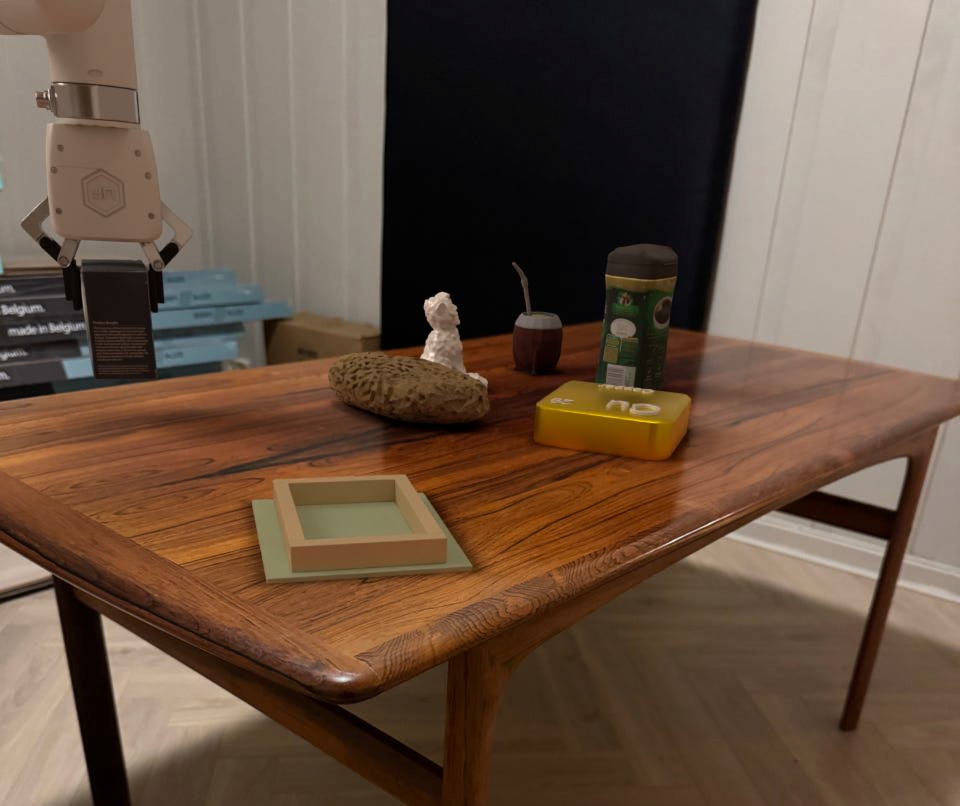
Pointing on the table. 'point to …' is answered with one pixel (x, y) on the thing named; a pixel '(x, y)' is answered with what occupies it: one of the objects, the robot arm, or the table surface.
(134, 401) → the table surface
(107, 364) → the small box
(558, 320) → the mate gourd
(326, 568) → the tan shallow square tray
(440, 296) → the white creature statuette
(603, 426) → the element tile
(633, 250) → the coffee jar
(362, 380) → the sponge
